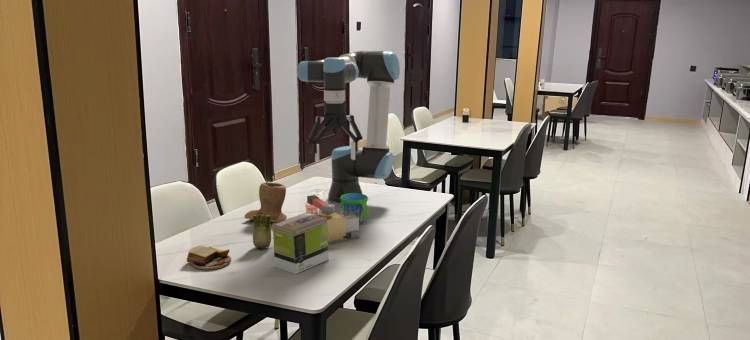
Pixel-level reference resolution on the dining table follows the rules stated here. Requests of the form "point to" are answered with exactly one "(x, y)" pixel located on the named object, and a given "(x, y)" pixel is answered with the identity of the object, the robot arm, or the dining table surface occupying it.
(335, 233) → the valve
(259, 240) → the fennel bulb
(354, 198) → the snack cup
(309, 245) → the tea box
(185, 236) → the dining table surface
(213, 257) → the toy sandwich meal
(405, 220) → the dining table surface
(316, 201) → the lever
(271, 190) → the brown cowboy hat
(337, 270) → the dining table surface
